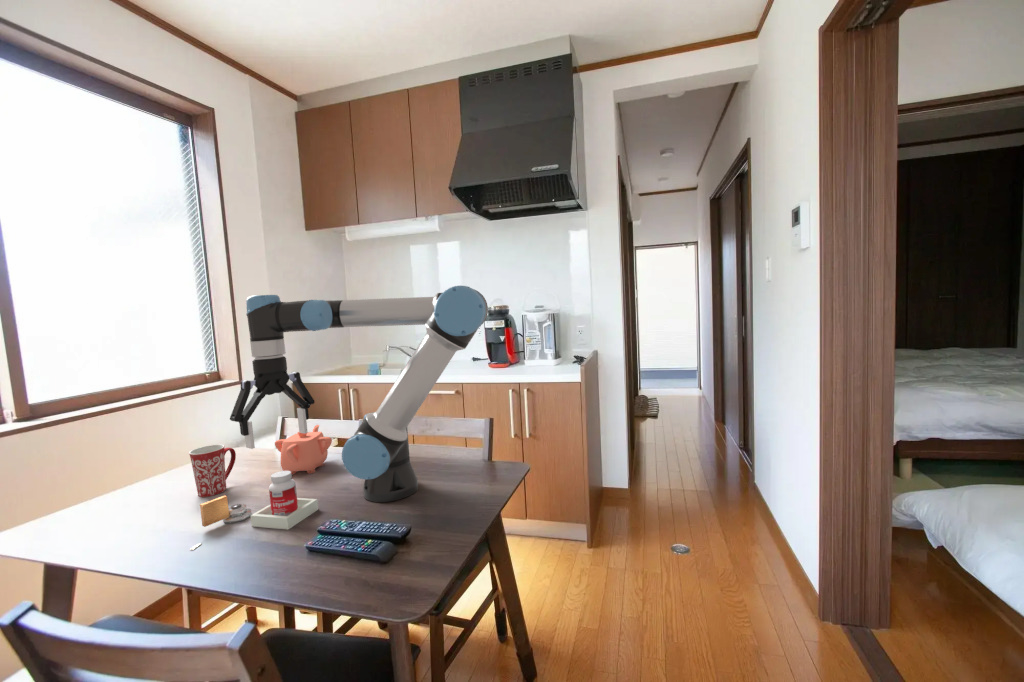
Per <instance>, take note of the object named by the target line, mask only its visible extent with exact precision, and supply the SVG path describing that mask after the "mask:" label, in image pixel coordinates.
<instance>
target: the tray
mask: <svg viewBox="0 0 1024 682" xmlns="http://www.w3.org/2000/svg"><path fill="white" fill-rule="evenodd" d="M297 502H298V510H296V511H294V512H293V513H291V514H290V515H288V516H276V515H272V514H271V504H270V503H269V504H268V505H266V506H264V507H263V508H261V509H259V510H258V511H256V512H254V513H252V515H250V522H251V523H250V524H251V527H255V528H256V527H257V528H265V529H267V528H269V529H277V530H278V529H279V530H290V529H291V528H293V527H294V526H296V525H297V524H299V523H300V522H302V521H303V520H305V519H306V518H308V517H309V516H311V515H313V514H314V513H316V512H317V511H318V510H319V502H318V498H306V497H305V498H304V497H297Z"/></svg>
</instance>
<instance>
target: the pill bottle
mask: <svg viewBox="0 0 1024 682" xmlns="http://www.w3.org/2000/svg"><path fill="white" fill-rule="evenodd" d="M292 475H293V474H292ZM292 475H291V471H283V470H282V471H277V472H274V473H272V474H271V475H270V481H271V483H270V485H269V486H268V494H269V502H270V503H269V505H270V504H271V514H272V515H276V516H288V515H290V514H291V513H293V512H294V511H296V510H298V502H297V498H298V496H297V495H298V493H297V485H296V481H295V480H294V479H293V478H292Z"/></svg>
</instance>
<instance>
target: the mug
mask: <svg viewBox="0 0 1024 682" xmlns="http://www.w3.org/2000/svg"><path fill="white" fill-rule="evenodd" d="M227 452H230V459H229V463H228V465H227V468H226V462H225V461H226V459H225V456H226V453H227ZM188 455H189V458H190V463H191V467H192V471H193V477H194V481H195V487H196V491H197V495H198V497H200V498H208V497H212V496H216V495H220V494H221V493H223V492H225V491H226V490H227V479H228V477H229V476H230V474H231V472H232V470H233V469H234V468H233V467H234V465H235V463H236V456H237V454H236V451H235V449H234V448H232V447H226V446H225V444H219V443H218V444H210V445H209V444H208V445H203V446H201V447H197V448H194V449H192V450H190V451H189V452H188Z"/></svg>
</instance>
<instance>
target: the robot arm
mask: <svg viewBox="0 0 1024 682" xmlns="http://www.w3.org/2000/svg"><path fill="white" fill-rule="evenodd" d="M245 302H246V303H245V304H246V316H247V324H248V332H249V340H250V351H251V357H252V358H254V359H253V360H251V361H252V370H253V374H254V378H253V379H252V380H247V379H246V380H245V379H242V380H240V391H239V393H238V396H237V398H236V401H235V403H234V406H233V409H232V411H231V414H230V417H229V420H230V421H231V422H235V423H237V422H238V423H239V430H240V435H241V436H243V437H244V439H245V441H244V442H245V447H246V448H247V449H251V450H253V449H255V448H256V447H255V439H254V438H255V437H254V428H253V422H252V421H251V420H250V418H251V417H252V415H253V414H254V412H255V411H256V409H257V408H258V406H259V405H260V403H261V401H262V400H263V399H264V398H265V397H266V396H267V395H268V396H271V395H273V394H280V393H281V394H282V393H284V394H285V395H286V396H287V397H288V398H289V399H290V400H291V401H292V402H294V403H295V404H296V405H297V406H298V407H297V408H296V411H297V412H296V414H297V421H298V432H299V433H304V434H305V433H308V432H309V431H308V424H307V423H308V422H307V420H309V418H310V417H309V416H310V415H309V408H311V405H314V404H315V399H314V397H312V395H311V393H310V392H309V390H308V388H307V387H306V385H305V384H304V382H303V381H302V378H301V377H302V376H301V375H300V372H298V371H291V372H290V373H288V363H287V362H288V361H287V357H286V356H284V355H286V345H285V335H284V333H291V332H292V333H293V332H311V331H312V332H316V331H323V330H328V329H333V328H334V329H337V328H359V327H362V328H363V327H365V328H368V327H392V326H393V327H394V326H397V327H398V326H419V325H420V326H422V325H425V329H426V334H425V335H424V337H423V338H422V340H420V343H419V344H418V346H417V348H415V350H414V352H413V353H412V355H411V357H410V358H409V360H408V362H407V363H406V364H405V366H404V368H403V369H402V371H401V372H400V374H399V376H398V377H397V379H396V380H395V382H394V384H393V385H391V388H390V390H389V391H388V393H386V395H385V397H384V399H382V400H383V401H382V402H381V404H380V405H379V406H378V408H377V410H376V411H373V412H369V413H365V414H364V415H363V420H362V421H361V423H360V425H359V426H358V428H357V430H356V431H355V432H354V434H353V435H352V436H351V437H349V438H348V439H347V440H346V441H345V443H344V444H343V447H342V450H341V460H342V463H343V466H344V468H345V470H347V472H348V473H349V474H351V475H352V476H353V477H354V478H357V479H360V480H364V482H363V483H364V484H363V487H362V488H363V489H362V490H363V497H364V498H365V500H367V501H369V502H375V503H385V502H386V503H387V502H388V503H389V502H394V501H398V500H402V499H404V498H408V497H410V496H411V495H414V493H416V492H417V491H418V489H419V481H418V477H417V475H416V473H415V470H414V467H413V466H412V463H411V459H410V447H409V446H410V445H409V434H408V426H409V425H410V424H411V422H412V420H413V418H414V417H415V416H416V414H417V412H418V411H419V409H420V408H421V406H422V405H423V403H424V401H425V400H426V399H427V397H428V395H429V394H430V393H431V391H432V390H433V388H434V386H435V385H436V383H437V382H438V380H439V379H440V377H441V375H442V374H443V372H444V371H445V370H446V368H447V366H448V365H449V363H450V362H451V360H452V359H453V357H454V356H455V353H457V352H458V351H462V350H465V349H466V348H467V347H468V345H469V344H470V342H471V341H472V339H473V338H474V336H475V334H476V333H477V331H478V330H479V328H480V327H481V326H482V325H483V324H484V323H485V321H486V319H487V318H488V314H489V313H488V312H489V307H488V302H487V300H486V298H485V296H484V295H483V294H482V293H481V292H480V291H478V290H476V289H474V288H472V287H470V286H467V285H455V286H451V287H449V288H447V289H446V290H444V291H443V292H437V293H436V294H435V295H434V296H419V297H394V298H392V297H391V298H388V297H387V298H367V299H366V298H365V299H364V298H363V299H344V300H331V299H329V300H324V299H309V300H296V301H281V298H280V296H279V295H278V294H259V295H258V294H257V295H256V294H255V295H250V296H248V297H247V298H246V301H245ZM289 380H290V382H292V383H293V385H294V387H295V388H296V390H297V391H298V393H296V392H295V391H294V390H293V389H292V387H290V386H289V384H288V382H289ZM253 386H255V388H256V389H255V391H254V393H253V396H252V397H251V398H250V400H249V396H250V393H251V390H252V389H253ZM248 400H249V402H248V403H247V401H248ZM246 404H247V405H246Z"/></svg>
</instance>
